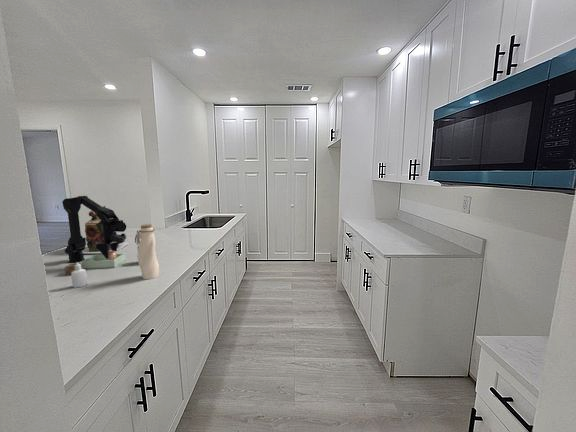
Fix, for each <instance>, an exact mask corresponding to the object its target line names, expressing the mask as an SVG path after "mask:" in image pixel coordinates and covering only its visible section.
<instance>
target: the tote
mask: <svg viewBox="0 0 576 432" xmlns="http://www.w3.org/2000/svg"><path fill="white" fill-rule="evenodd" d="M116 256H117V258H116V259H114V260H107V259H106V258H105V257H104V255H103V254H92V255H91V256H89V257H87V258H84V259H85V260H83V261H81V262H80V263H81V269H85V270H90V269H91V270H93V269H113V268H117V267H118V266H120V265H121V264H122V263H124V262H126V253H116Z"/></svg>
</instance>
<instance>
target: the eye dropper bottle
mask: <svg viewBox="0 0 576 432" xmlns="http://www.w3.org/2000/svg"><path fill="white" fill-rule="evenodd" d="M79 263H80V262H77V263H75V264H76V265H75V270H74V271H73V272H72V273H71V275H70V276H71V283H72V288H74V289H77V288H78V289H79V288H81V287H84V286H87V285H88V277H87V271H86V270H87V269H82V264H79Z"/></svg>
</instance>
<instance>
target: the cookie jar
mask: <svg viewBox="0 0 576 432" xmlns="http://www.w3.org/2000/svg"><path fill="white" fill-rule="evenodd" d="M102 207H105V208H106V205H103V206H102ZM88 217H91V218H90V219H89V220H88V221H86V222H85V223H84V233H85V238H86V247H87V248H86V247H85V250H82V253H83V255H84V254H86V255H87V254H88V255H97V254H102V253H101V252H100V250H98V249H96V245H97V244H98V243H100V242H102V240H104V239H103V235H101V234H102V233H103V230H102V224H99V222H100V221H101V219H99V218H98V217H97V216H96V213H95V212H93V211H92V210H90V211H88ZM114 232H116V231H114ZM116 233H117V232H116ZM128 244H129V242H128V241H127V242H123V243H120V244H119V245H118V247H117V252H118V251H119V250H121V249H123V248H124V247H125V246H128ZM109 251H112V249H111V248H110V249H109Z"/></svg>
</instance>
